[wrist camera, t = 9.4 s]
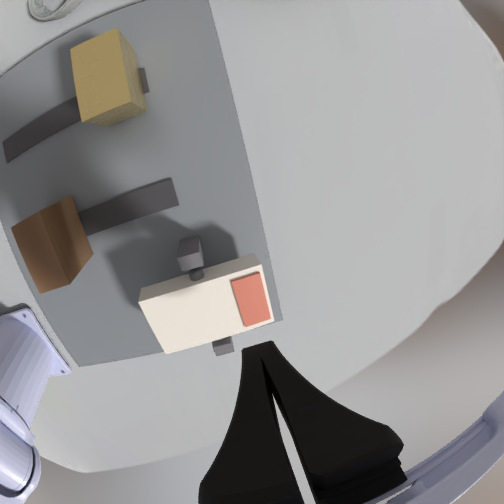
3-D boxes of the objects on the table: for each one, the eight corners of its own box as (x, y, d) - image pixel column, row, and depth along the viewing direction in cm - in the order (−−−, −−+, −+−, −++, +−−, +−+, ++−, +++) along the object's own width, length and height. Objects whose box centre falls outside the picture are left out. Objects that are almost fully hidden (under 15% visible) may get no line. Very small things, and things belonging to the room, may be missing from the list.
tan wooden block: (109, 126, 13) (81, 122, 9) (97, 67, 11) (70, 49, 7) (148, 111, 13) (131, 101, 9) (135, 52, 11) (117, 27, 8)
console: (84, 352, 20) (70, 389, 16) (-9, 98, 11) (-45, 96, 6) (276, 305, 22) (294, 343, 18) (203, 0, 12) (206, -36, 8)
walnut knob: (66, 263, 15) (40, 294, 11) (44, 208, 13) (10, 227, 10) (93, 254, 15) (70, 284, 12) (71, 195, 14) (39, 211, 10)
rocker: (168, 342, 17) (168, 360, 15) (138, 282, 15) (134, 297, 13) (268, 312, 18) (276, 327, 16) (252, 247, 16) (260, 258, 14)
